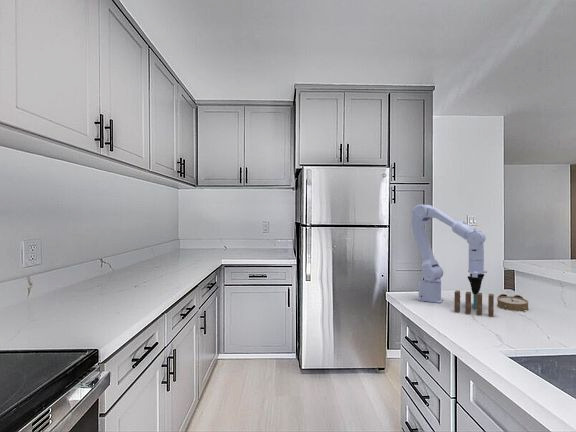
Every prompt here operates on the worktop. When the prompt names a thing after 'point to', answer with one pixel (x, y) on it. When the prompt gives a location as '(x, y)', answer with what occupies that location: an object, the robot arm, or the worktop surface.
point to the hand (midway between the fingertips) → (476, 292)
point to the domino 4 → (491, 305)
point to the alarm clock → (512, 302)
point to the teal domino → (475, 301)
